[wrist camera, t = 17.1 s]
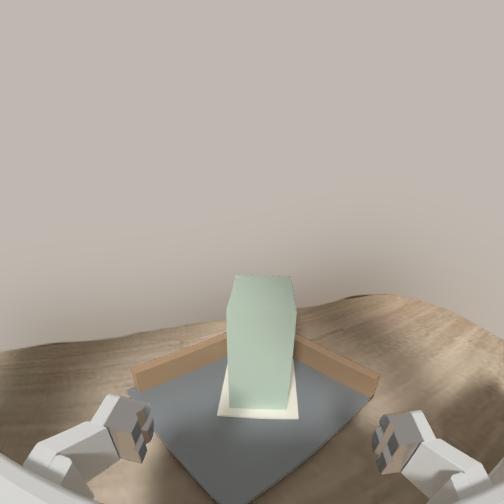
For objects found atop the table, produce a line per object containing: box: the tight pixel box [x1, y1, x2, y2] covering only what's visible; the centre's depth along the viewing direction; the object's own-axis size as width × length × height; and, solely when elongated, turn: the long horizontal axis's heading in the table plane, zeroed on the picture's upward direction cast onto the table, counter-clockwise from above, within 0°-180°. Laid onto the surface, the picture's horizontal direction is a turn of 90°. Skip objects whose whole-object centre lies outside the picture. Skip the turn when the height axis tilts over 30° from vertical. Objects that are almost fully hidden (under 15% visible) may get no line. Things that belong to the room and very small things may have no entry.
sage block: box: [226, 275, 297, 410], centre depth 26 cm, size 5×7×10 cm
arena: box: [127, 332, 380, 504], centre depth 25 cm, size 18×16×3 cm
